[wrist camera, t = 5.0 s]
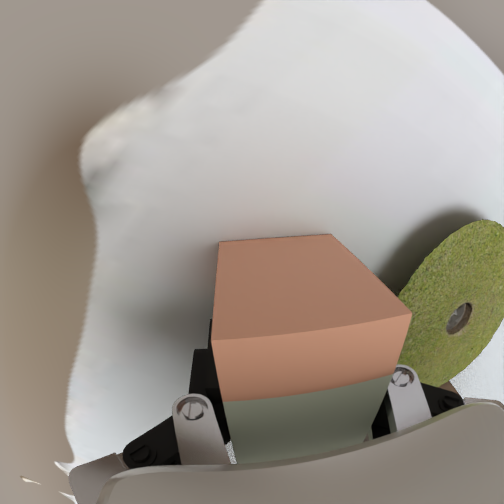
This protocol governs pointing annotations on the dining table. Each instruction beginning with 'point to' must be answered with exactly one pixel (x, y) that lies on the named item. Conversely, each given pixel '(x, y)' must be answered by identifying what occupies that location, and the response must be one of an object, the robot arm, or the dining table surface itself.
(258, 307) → the peach green box
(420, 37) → the dining table surface
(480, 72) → the dining table surface
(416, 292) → the green flat disc
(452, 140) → the dining table surface
